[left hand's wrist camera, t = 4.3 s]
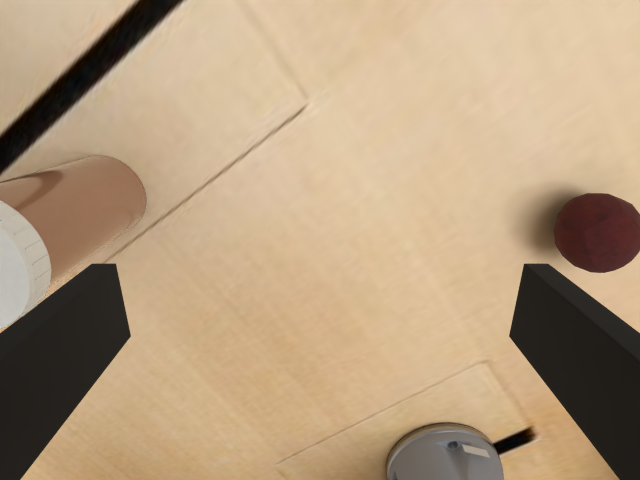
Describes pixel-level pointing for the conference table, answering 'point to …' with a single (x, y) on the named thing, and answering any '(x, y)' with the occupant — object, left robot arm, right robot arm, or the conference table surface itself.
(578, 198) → the dark red ball
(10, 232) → the lid
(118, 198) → the jar
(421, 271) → the conference table surface
